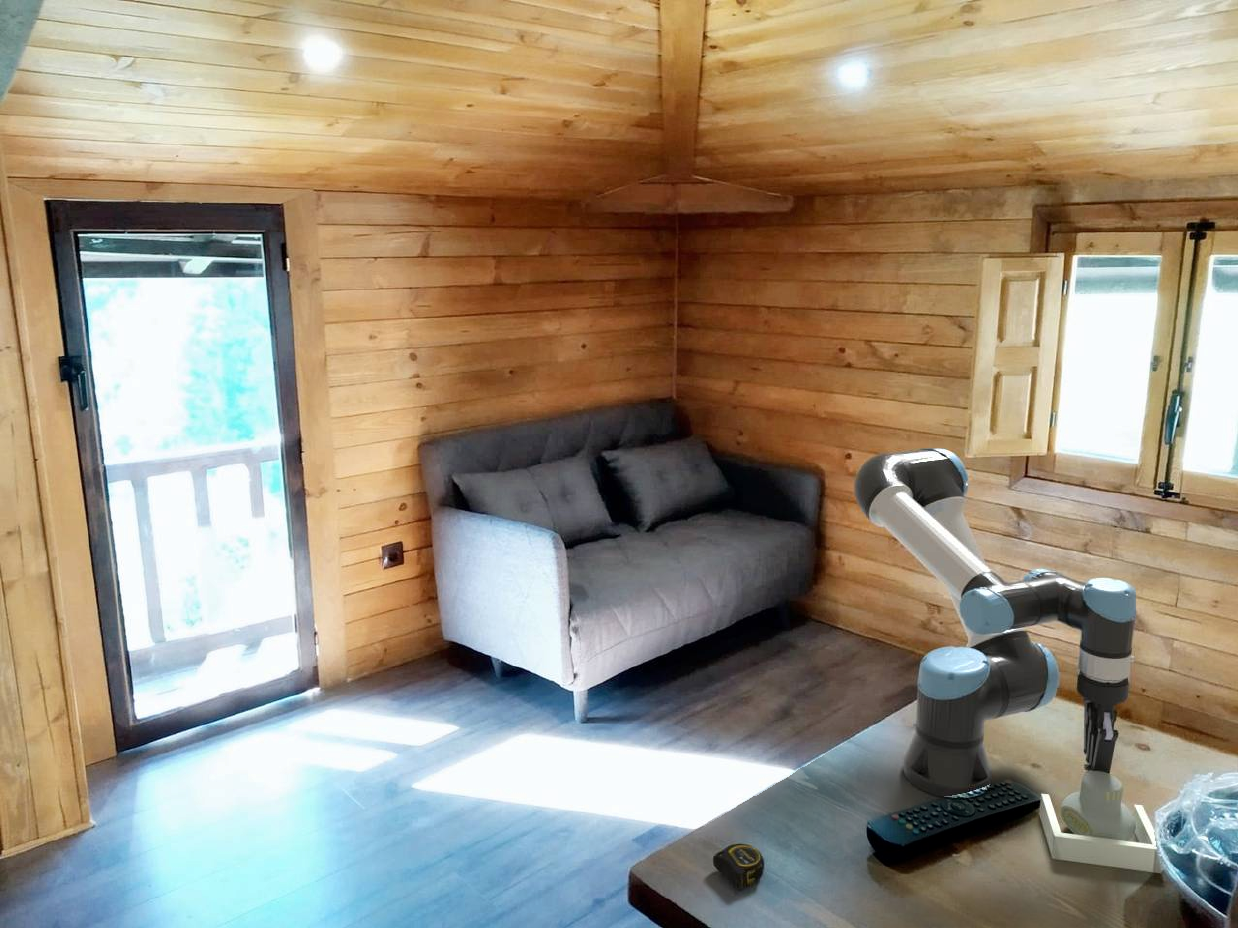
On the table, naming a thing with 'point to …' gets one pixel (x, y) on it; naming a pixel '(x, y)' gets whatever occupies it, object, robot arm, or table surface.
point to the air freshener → (1098, 809)
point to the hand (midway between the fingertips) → (1093, 801)
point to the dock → (1102, 843)
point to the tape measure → (740, 864)
